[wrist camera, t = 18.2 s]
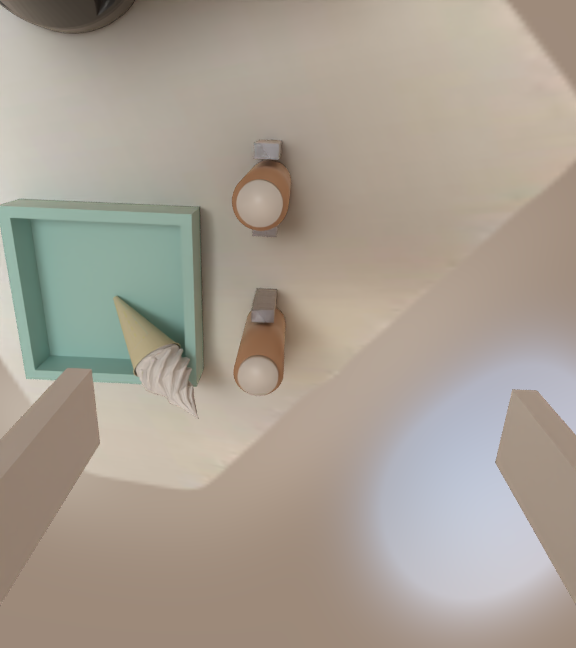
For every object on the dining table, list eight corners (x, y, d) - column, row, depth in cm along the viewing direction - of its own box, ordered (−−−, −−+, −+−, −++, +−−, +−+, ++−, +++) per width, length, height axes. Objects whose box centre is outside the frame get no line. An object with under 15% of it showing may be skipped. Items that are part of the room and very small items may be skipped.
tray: (19, 198, 48) (-4, 205, 45) (199, 206, 48) (191, 214, 44) (44, 360, 55) (26, 378, 51) (203, 368, 55) (196, 386, 51)
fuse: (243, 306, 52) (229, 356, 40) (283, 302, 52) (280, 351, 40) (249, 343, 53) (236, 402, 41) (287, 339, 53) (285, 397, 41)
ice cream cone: (113, 317, 54) (190, 434, 49) (80, 310, 49) (163, 438, 44) (147, 285, 53) (229, 401, 48) (117, 275, 48) (205, 401, 44)
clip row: (259, 139, 46) (253, 142, 40) (281, 140, 46) (279, 143, 40) (255, 355, 54) (250, 382, 48) (274, 356, 54) (271, 383, 48)
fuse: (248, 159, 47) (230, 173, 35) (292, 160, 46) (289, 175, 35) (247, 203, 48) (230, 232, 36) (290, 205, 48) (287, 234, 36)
